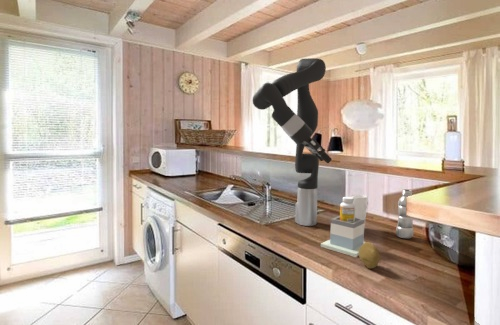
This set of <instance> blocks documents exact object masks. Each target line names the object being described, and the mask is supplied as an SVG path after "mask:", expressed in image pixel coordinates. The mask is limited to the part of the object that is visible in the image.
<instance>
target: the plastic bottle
mask: <svg viewBox="0 0 500 325" xmlns="http://www.w3.org/2000/svg"><path fill="white" fill-rule="evenodd" d="M410 195H411V196H412V195H413V190H412V189H402V190H401V197H399V199H398V201H397V208H398V213H397V214H398V219H397V225H396V228H395V235H396V236H397V237H398V238H401V239H407V240H408V239H411V238H413V236H414V223H413V220H414V219H413V218H414V217H413V218H410V217H407V216H406V197H408V196H410Z"/></svg>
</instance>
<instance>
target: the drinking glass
mask: <svg viewBox="0 0 500 325" xmlns="http://www.w3.org/2000/svg"><path fill="white" fill-rule="evenodd" d="M351 197H353V198H354V202H353V203H354V204H355V217H356V218H361V219H365V221H364V228H365V227H366V218H367V217H366V216H367V210H368V196H367V195H363V194H352V195H351Z"/></svg>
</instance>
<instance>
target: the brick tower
mask: <svg viewBox="0 0 500 325" xmlns="http://www.w3.org/2000/svg"><path fill="white" fill-rule="evenodd" d="M364 221H365V222H366V218H365V219H361V218H356V217H355V222H354V223H350V222H345V221H341V220H340V215H338V216H336V217H333V218H330V232H329V233H330V234H329V238H330V239H328V240H325V241H324V242H321V243H320V248H323V249H328V250H330V251H334V252H336V253H337V252H338V253H341V254H344V255H347V256H351V257H353V258H357V257H359V250H360V248H361V246H362V245H363V244H364V243H365V242H366V241H365V239H364V236H365V227H364Z"/></svg>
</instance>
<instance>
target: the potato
mask: <svg viewBox="0 0 500 325" xmlns="http://www.w3.org/2000/svg"><path fill="white" fill-rule="evenodd" d="M364 242H365V243H364V244H363V245H362V246H361V248H360V250H359V256H358V257H359V259H360V261H361V263H363V265H364V266H365V267H366V268H367V269H370V270H371V269H376V267H377V266H378V265H379V263H380V258H381V255H380V252H379V249H377V247H376V246H375V245H374V243H371V242H370V241H364Z"/></svg>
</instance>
